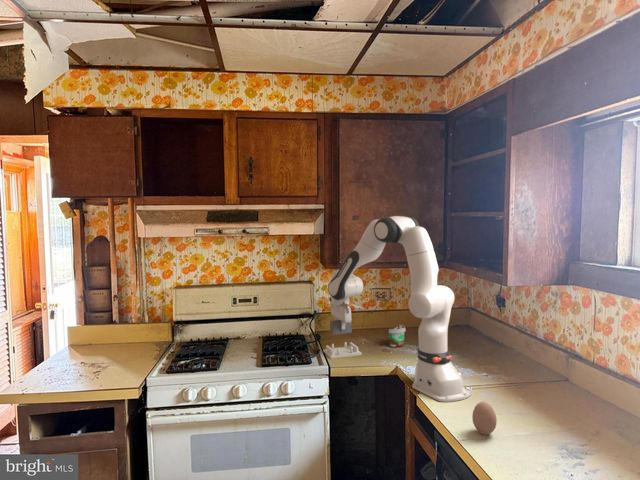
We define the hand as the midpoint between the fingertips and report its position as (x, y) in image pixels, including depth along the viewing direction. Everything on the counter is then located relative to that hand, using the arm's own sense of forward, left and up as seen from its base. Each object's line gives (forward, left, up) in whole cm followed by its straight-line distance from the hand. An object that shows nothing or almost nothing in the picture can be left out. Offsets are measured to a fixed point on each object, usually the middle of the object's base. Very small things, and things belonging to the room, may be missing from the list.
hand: (340, 327), depth 195 cm
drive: (0, 0, -3) cm, 3 cm away
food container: (-1, -32, -13) cm, 35 cm away
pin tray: (0, 0, -13) cm, 13 cm away
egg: (-85, -14, -13) cm, 88 cm away
